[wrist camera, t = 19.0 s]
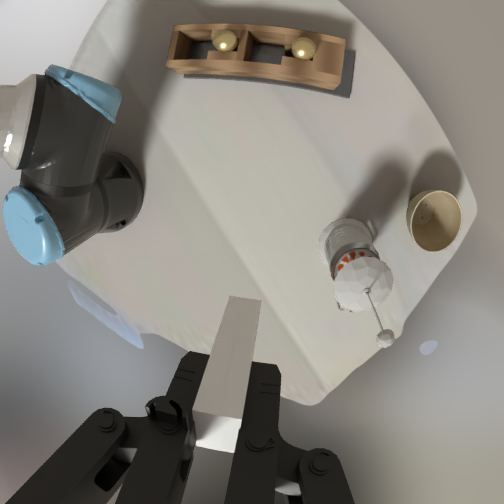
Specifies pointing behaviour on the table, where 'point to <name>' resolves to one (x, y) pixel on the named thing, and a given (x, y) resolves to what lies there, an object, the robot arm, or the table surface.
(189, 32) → the wooden compartment box
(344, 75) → the rail
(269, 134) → the table surface
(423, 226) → the flower pot
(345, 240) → the french press
